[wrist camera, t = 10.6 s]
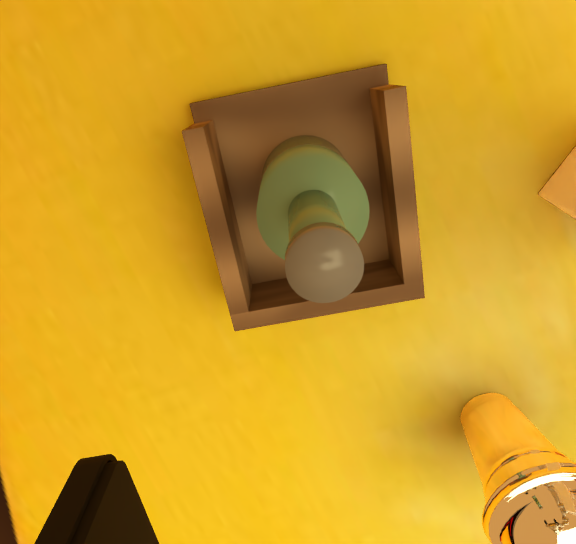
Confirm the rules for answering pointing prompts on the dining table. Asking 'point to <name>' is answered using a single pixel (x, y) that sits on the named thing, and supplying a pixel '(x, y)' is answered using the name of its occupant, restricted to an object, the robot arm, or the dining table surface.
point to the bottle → (314, 217)
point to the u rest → (247, 177)
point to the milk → (563, 186)
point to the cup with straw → (519, 475)
